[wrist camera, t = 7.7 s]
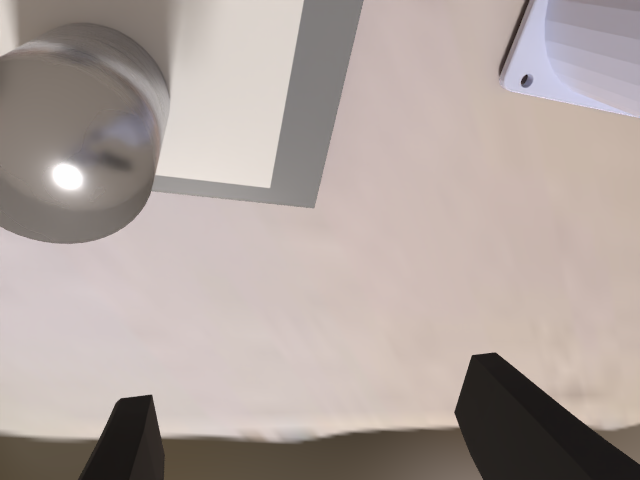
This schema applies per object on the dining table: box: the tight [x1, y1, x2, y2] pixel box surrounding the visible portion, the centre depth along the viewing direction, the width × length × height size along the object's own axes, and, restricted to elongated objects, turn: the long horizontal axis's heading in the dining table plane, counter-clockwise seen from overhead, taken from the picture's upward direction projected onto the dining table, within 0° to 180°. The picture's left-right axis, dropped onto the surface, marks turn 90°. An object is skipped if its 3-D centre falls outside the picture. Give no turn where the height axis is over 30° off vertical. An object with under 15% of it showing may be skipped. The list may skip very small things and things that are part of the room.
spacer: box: [0, 23, 170, 244], centre depth 12 cm, size 4×4×5 cm
